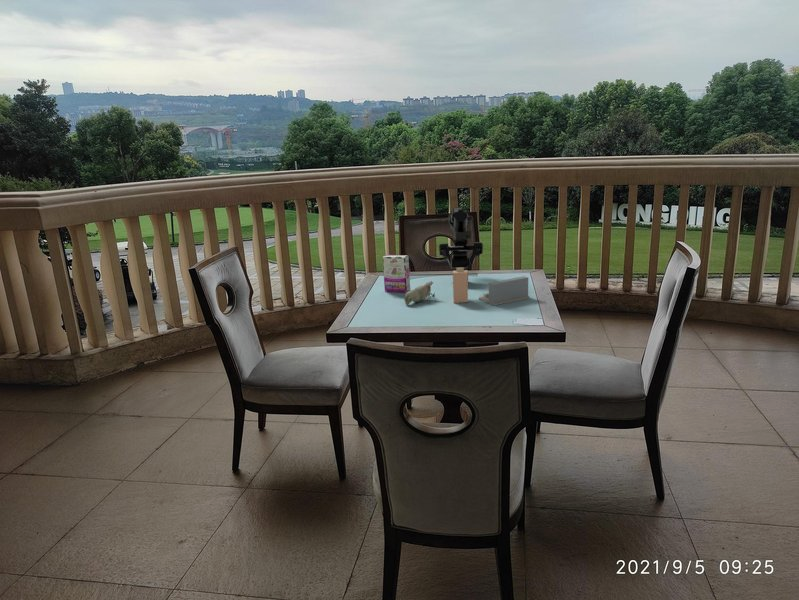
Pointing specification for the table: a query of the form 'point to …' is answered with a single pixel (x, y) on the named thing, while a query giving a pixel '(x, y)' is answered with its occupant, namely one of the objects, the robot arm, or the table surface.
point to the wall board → (506, 291)
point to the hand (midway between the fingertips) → (461, 265)
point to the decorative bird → (419, 293)
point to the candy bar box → (396, 273)
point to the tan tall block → (460, 285)
